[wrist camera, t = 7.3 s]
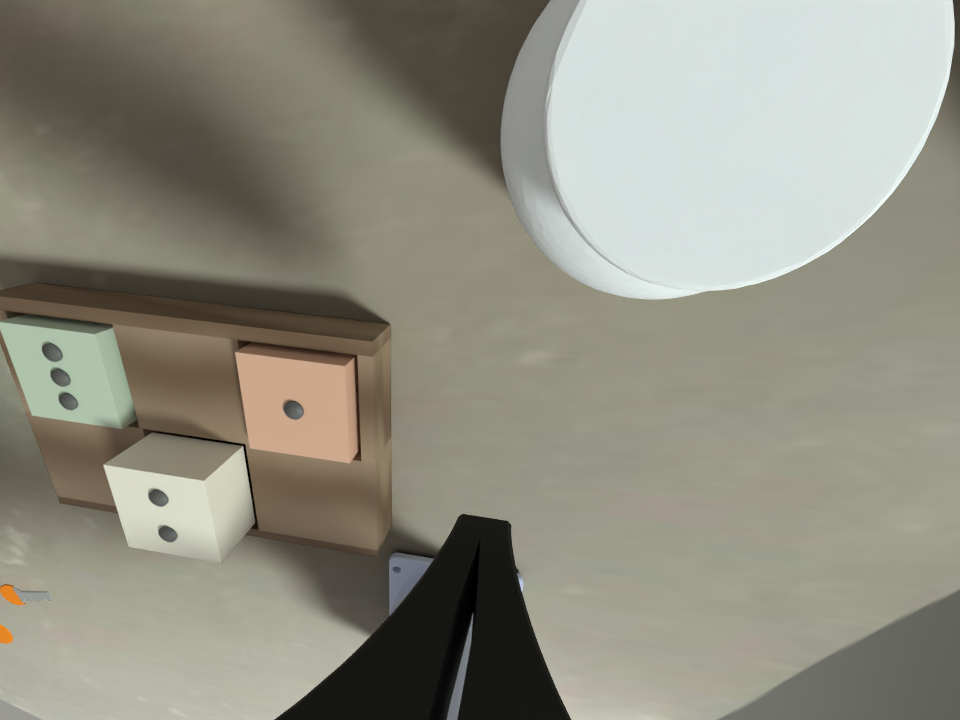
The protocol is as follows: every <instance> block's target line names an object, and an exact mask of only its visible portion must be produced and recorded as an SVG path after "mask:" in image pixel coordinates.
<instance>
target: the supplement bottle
mask: <svg viewBox="0 0 960 720" xmlns="http://www.w3.org/2000/svg"><path fill="white" fill-rule="evenodd" d="M954 28H955V22H954V10H953V0H550V2H549V3H548V5H547V6H546V7H545V9H544V10H543V12H542V13H541V15H540V16H539V18H538V19H537V21H536V22H535V23H534V25H533V27H532V29H531V31H530V32H529V34H528V36H527V38H526V40H525V42H524V44H523V46H522V48H521V50H520V52H519V54H518V57H517V60H516V62H515V65H514V68H513V71H512V74H511V77H510V80H509V84H508V88H507V92H506V96H505V101H504V107H503V114H502V121H501V159H502V166H503V172H504V177H505V181H506V185H507V189H508V192H509V196H510V199H511V202H512V204H513V207H514V209H515V211H516V214H517V216H518V218H519V220H520V222H521V223H522V225H523V227H524V229H525V230H526V232H527V233H528V235H529V236H530V237H531V239H532V240H533V242H534V243H535V244H536V246H537V247H538V248H539V249H540V251H541V252H542V253H543V254H544V255H545V256H546V257H547V258H548V259H549V260H550V261H551V262H553V263H554V264H555V265H556V266H557V267H559V268H560V269H561V270H562V271H564V272H565V273H567V274H568V275H570V276H571V277H573V278H574V279H576V280H577V281H579V282H581V283H583V284H585V285H588V286H590V287H592V288H594V289H597V290H600V291H603V292H606V293H610V294H614V295H618V296H623V297H629V298H638V299H669V298H677V297H683V296H688V295H693V294H697V293H701V292H704V291H712V290H726V289H735V288H740V287H744V286H747V285H753V284H757V283H760V282H763V281H767V280H770V279H773V278H776V277H778V276H781V275H783V274H785V273H788V272H790V271H792V270H794V269H796V268H799V267H801V266H803V265H805V264H807V263H808V262H810V261H812V260H814V259H815V258H817V257H819V256H821V255H822V254H824V253H826V252H828V251H829V250H831V249H832V248H833V247H835V246H836V245H838V244H839V243H840V242H842V241H843V240H844V239H845V238H847V237H848V236H849V235H850V234H851V233H853V232H854V231H855V230H856V229H857V228H859V227H860V226H861V225H862V224H863V223H864V222H865V221H866V220H867V219H868V218H869V217H870V216H872V215H873V214H874V213H875V211H876V210H877V209H878V208H879V207H880V206H881V205H882V204H883V203H884V202H885V200H886V199H887V198H888V197H889V196H890V195H891V194H892V193H893V191H894V190H895V189H896V187H897V186H898V185H899V183H900V182H901V181H902V179H903V178H904V177H905V175H906V174H907V172H908V170H909V169H910V167H911V166H912V164H913V162H914V161H915V159H916V158H917V156H918V154H919V153H920V151H921V150H922V148H923V146H924V144H925V141H926V139H927V137H928V135H929V133H930V131H931V129H932V126H933V124H934V122H935V120H936V118H937V115H938V112H939V109H940V106H941V103H942V100H943V97H944V94H945V90H946V87H947V83H948V80H949V75H950V68H951V62H952V55H953V49H954Z"/></svg>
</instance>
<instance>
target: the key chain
mask: <svg viewBox="0 0 960 720" xmlns="http://www.w3.org/2000/svg"><path fill="white" fill-rule="evenodd" d="M0 594H1V595H2V596H3V597H4V598H5V599H6V600H8V601H9V602H11V603H13V604H17V605H23V604H25V601H26V600H27V601H30V600H32V599H33V600H36V601H39V599H41V601H44V600H43V599H48V601H51V600H50V599H52V596H51V594H49V593H48V592H44V591H20V590H19V589H17V588H15V587H13V586H12V585H3V586H1V588H0ZM12 641H13V636H12V635H11V633H10V632H9V631H8V630H7V629H6V628H5V627H4V626H2V625H1V624H0V642H1V643H6V644H7V643H11V642H12Z"/></svg>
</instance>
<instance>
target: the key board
mask: <svg viewBox="0 0 960 720" xmlns="http://www.w3.org/2000/svg"><path fill="white" fill-rule="evenodd" d="M24 314H34V315H42V316H50V317H58V318H66V319H74V320H82V321H90V322H98V323H106V324H112V325H113V329H114V333H115V336H116V340H117V344H118V348H119V352H120V355H121V359H122V363H123V367H124V371H125V374H126V378H127V382H128V386H129V389H130V393H131V397H132V401H133V405H134V408H135V412H136V416H137V420H136V421H135V422H133V423H131V424H130V425H128V426H126V427H125V428H123V429H118V428H111V427H105V426H98V425H91V424H85V423H78V422H71V421H65V420H58V419H51V418H45V417H38V416H32V414H31V411H30V409H29V406H28V403H27V400H26V398H25V395H24V392H23V390H22V387H21V384H20V382H19V379H18V376H17V373H16V371H15V368H14V365H13V363H12V360H11V357H10V355H9V352H8V349H7V346H6V344H5V341H4V338H3V336H2V333H1V330H0V344H1V347H2V349H3V352H4V355H5V357H6V360H7V363H8V365H9V368H10V371H11V373H12V376H13V379H14V381H15V384H16V387H17V389H18V392H19V395H20V397H21V400H22V403H23V405H24V408H25V411H26V413H27V416H28V419H29V421H30V424H31V427H32V429H33V432H34V435H35V437H36V440H37V443H38V445H39V448H40V451H41V453H42V456H43V459H44V461H45V464H46V467H47V469H48V472H49V475H50V477H51V480H52V483H53V485H54V488H55V491H56V493H57V496H58V499H59V501H60V503H62V504H68V505H74V506H80V507H86V508H91V509H97V510H103V511H109V512H115V513H118V511H117V507H116V504H115V501H114V498H113V495H112V491H111V488H110V485H109V482H108V479H107V476H106V472H105V469H104V466H103V465H104V464H105V463H107V462H108V461H110V460H111V459H113V458H114V457H116V456H117V455H119V454H120V453H122V452H123V451H125V450H126V449H128V448H129V447H131V446H132V445H134V444H135V443H137V442H138V441H140V440H142V439H143V438H145V437H146V436H148V435H149V434H151V433H152V432H153V433H159V434H166V435H173V436H179V437H185V436H184V435H188V436H195V437H202V438H208V439H215V440H222V441H228V442H235V443H242V444H245V445H246V451H247V458H248V464H249V470H250V477H251V483H252V489H253V496H251V499H252V505H253V511H254V517H255V524H254V525H253V526H252V527H251V528H250V530H249V531H248V532H247V533H246V534H245V535H250V536H256V537H261V538H267V539H273V540H279V541H285V542H291V543H297V544H302V545H308V546H314V547H320V548H326V549H332V550H338V551H344V552H349V553H355V554H361V555H367V556H373V557H378V555H379V553H380V550H381V548H382V546H383V544H384V541H385V539H386V537H387V535H388V532H389V530H390V528H391V526H392V489H391V324H383V323H375V322H366V321H358V320H349V319H341V318H332V317H324V316H315V315H307V314H298V313H290V312H281V311H273V310H264V309H255V308H247V307H238V306H230V305H221V304H213V303H204V302H196V301H187V300H179V299H170V298H162V297H153V296H145V295H136V294H127V293H119V292H110V291H102V290H93V289H85V288H76V287H68V286H59V285H51V284H42V283H31V284H27V285H22V286H18V287H13V288H8V289H4V290H0V321H2V320H5V319H9V318H13V317H16V316H20V315H24ZM252 342H258V343H266V344H274V345H282V346H290V347H298V348H306V349H314V350H322V351H330V352H338V353H346V354H354V355H357V359H358V385H359V412H360V438H361V448H360V449H359V450H358V452H357V453H356V455H355V456H354V458H353V459H352V461H351V462H350V463H344V462H338V461H331V460H324V459H318V458H311V457H304V456H298V455H291V454H284V453H278V452H271V451H264V450H258V449H251V448H250V446H249V440H248V433H247V427H246V420H245V414H244V407H243V401H242V394H241V388H240V381H239V375H238V368H237V362H236V355H235V352H236V351H238V350H240V349H241V348H243V347H245V346H247V345H248V344H250V343H252Z"/></svg>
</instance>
